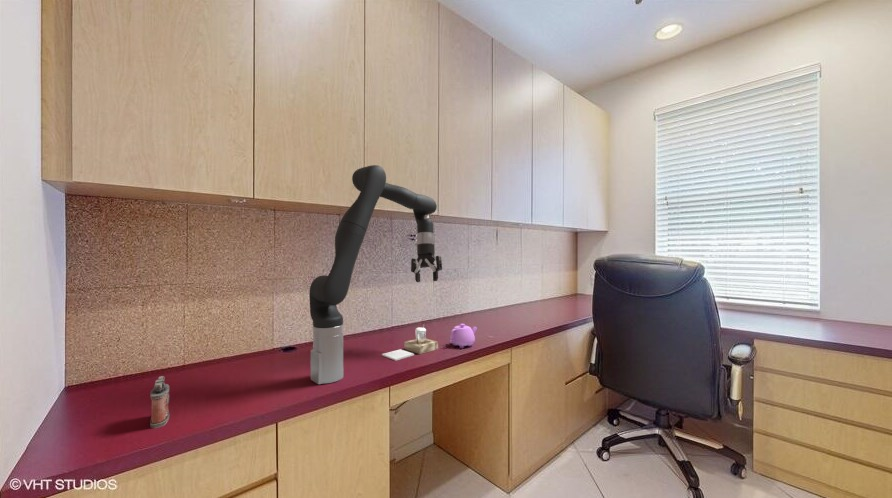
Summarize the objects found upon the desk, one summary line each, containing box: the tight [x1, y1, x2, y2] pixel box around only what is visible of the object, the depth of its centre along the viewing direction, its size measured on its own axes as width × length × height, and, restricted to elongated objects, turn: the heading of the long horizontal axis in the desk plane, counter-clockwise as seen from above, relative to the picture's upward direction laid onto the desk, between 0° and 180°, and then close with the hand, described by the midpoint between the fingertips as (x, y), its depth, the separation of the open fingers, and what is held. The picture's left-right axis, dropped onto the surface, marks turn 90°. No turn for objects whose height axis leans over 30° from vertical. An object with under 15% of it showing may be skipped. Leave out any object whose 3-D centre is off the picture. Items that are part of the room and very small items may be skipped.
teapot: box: [449, 323, 478, 349], centre depth 144 cm, size 10×15×9 cm
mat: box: [381, 348, 415, 362], centre depth 130 cm, size 9×9×1 cm
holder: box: [403, 337, 439, 355], centre depth 138 cm, size 10×10×3 cm
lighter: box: [149, 375, 170, 429], centre depth 80 cm, size 8×3×10 cm, turn 35°
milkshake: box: [414, 323, 427, 345], centre depth 138 cm, size 4×5×10 cm
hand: (426, 281), depth 139 cm, fingers open, 8 cm apart
